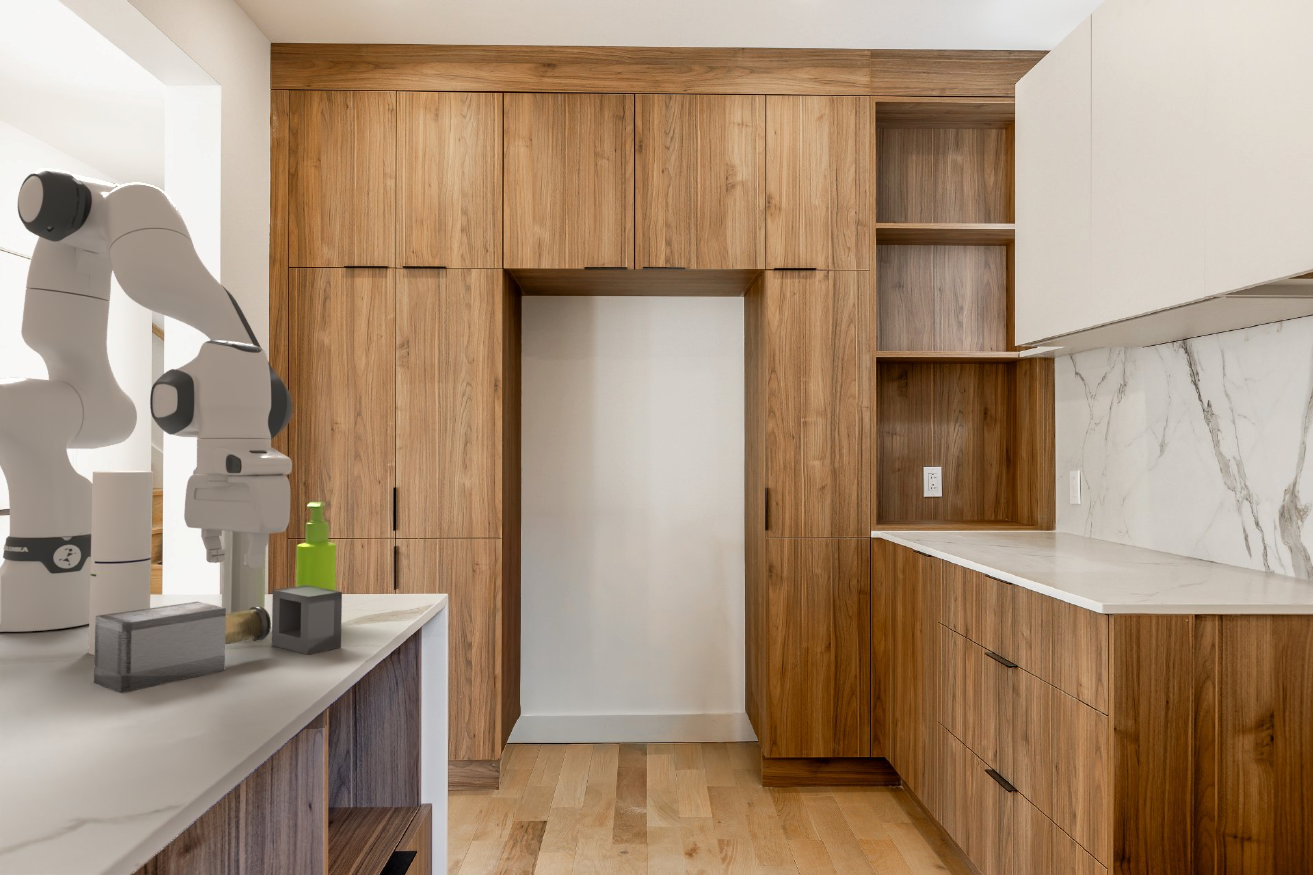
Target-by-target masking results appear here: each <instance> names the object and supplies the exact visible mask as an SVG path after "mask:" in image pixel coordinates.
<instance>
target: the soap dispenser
mask: <svg viewBox="0 0 1313 875" xmlns="http://www.w3.org/2000/svg"><path fill="white" fill-rule="evenodd" d="M325 506H326V502H325V501H310V502H308V504H307V506H306V508H307V510H308V509H311V520H309V521H307V522H306V523H305V542H303V543H300V544H297V545H296V568H295V569H296V572H295V573H296V574H295V575H296V578H295V580H296V581H295V584H296V585H295V587H297V586H304V585H307V586H313V587H318V588H324V589H330V590H335V591H337V590H336V584H337V582H336V581H337V580H336V579H337V576H336V575H337V543H334V542H331V541H329V522H327V521H326V520H324V507H325Z"/></svg>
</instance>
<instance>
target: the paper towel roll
mask: <svg viewBox="0 0 1313 875" xmlns="http://www.w3.org/2000/svg"><path fill="white" fill-rule="evenodd" d="M249 544H250V541H248V534H247V533H246V532H235V531H223V530H222V549H225V555H224V556H225V560H224V561H223V562H222V576H221V577H222V578H221V580H222V582H221V607H224V608H226V614H227V613H233V612H240V611H246V610H249V609H250V608H252V607H257V606H261V607H263V608H264V609H265V605H266V604H265V600H266V599H265V596H266V595H265V594H266V592H265V591H266V557H267V556H266V555H267V554H266V552H267V550H266V549H267V547H266V548H265V551H264V553H263V565H262V566H261V567H257V568H249V567H245V566H244V554H247V552H248V548H249Z"/></svg>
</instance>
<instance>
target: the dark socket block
mask: <svg viewBox="0 0 1313 875" xmlns="http://www.w3.org/2000/svg"><path fill="white" fill-rule="evenodd" d="M342 601H343V591H342V590H341V591H340V590H336V591H335V590H330V589H324V588H318V587H313V586H307V585H304V586H297V587H296V586H291V587H290V586H289V587H285V588H277V589H272V605H271V606H272V609H271V610H272V611H271V612H272V613H271V616H272V617H271V618H272V619H271V646H273V647H277V648H281V649H284V650H288V651H293V652H295V653H296V652H297V653H299V654H303V655H304V654H305V655H312V654H313V655H314V654H317V653H322V652H327V651H332V650H335V649H341V648H342V617H343V616H342V612H343V610H342V608H343V607H342V606H343V604H342V603H343V602H342ZM340 647H341V648H340ZM331 649H332V650H331Z"/></svg>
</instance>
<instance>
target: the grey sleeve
mask: <svg viewBox="0 0 1313 875" xmlns="http://www.w3.org/2000/svg"><path fill="white" fill-rule="evenodd" d="M225 629H226V608H224V607H222V606H219V605H216V604H215V605H214V604H209V603H206V602H205V603H204V602H201V601H191V602H184V603H179V604H172V605H163V606H157V607H150V608H148V609H141V610H134V611H127V612H120V613H113V614H106V615H98V616H96V618H95V655H94V661H93V662H94V665H93V666H94V668H93V669H94V671H93V683H94V684H97V685H100V686H102V687H105V686H106V687H105V688H107V689H110V688H111V690H113V691H116V692H117V693H120V694H122V693H127V692H131V691H135V690H141V689H145V688H149V687H154V686H159V685H164V684H167V683H172V682H178V681H183V680H188V679H190V678H191V679H192V678H196V677H201V676H205V675H210V674H215V673H219V672H223V671H225V670H226V666H225V665H226V645H225Z"/></svg>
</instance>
